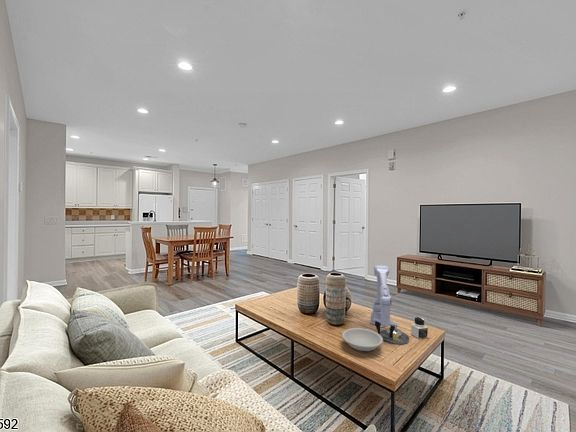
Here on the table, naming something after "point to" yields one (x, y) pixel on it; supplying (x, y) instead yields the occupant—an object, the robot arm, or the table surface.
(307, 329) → the table surface
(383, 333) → the flange plate
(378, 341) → the soup bowl
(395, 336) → the ring nut
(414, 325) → the medicine bottle
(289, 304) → the table surface
